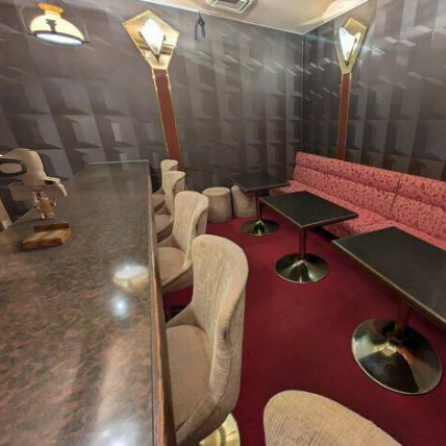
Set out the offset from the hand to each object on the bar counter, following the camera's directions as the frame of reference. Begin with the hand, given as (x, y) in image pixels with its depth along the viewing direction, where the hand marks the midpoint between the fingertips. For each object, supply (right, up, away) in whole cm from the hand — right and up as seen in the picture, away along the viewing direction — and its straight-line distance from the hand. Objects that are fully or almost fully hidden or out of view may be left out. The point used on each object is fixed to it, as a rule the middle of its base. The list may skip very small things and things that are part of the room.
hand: (44, 206), depth 131 cm
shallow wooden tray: (+26, -16, -22) cm, 38 cm away
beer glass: (0, -6, +2) cm, 6 cm away
